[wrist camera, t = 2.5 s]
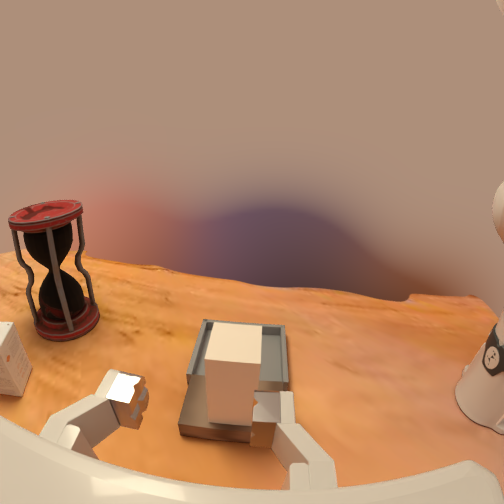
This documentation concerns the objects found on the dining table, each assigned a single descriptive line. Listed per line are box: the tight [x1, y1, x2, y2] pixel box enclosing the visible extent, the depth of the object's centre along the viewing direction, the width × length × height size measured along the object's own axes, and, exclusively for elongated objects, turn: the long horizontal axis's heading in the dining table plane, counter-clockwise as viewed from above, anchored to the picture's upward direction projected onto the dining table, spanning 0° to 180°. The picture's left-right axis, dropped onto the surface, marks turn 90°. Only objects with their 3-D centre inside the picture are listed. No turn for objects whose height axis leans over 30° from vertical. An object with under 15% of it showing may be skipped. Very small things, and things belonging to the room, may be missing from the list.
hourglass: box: [8, 200, 100, 341], centre depth 52 cm, size 16×16×25 cm
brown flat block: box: [178, 374, 283, 443], centre depth 40 cm, size 14×10×3 cm
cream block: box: [204, 322, 262, 426], centre depth 36 cm, size 6×7×12 cm
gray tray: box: [186, 319, 289, 391], centre depth 52 cm, size 16×16×2 cm
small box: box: [0, 322, 32, 397], centre depth 35 cm, size 8×6×10 cm
